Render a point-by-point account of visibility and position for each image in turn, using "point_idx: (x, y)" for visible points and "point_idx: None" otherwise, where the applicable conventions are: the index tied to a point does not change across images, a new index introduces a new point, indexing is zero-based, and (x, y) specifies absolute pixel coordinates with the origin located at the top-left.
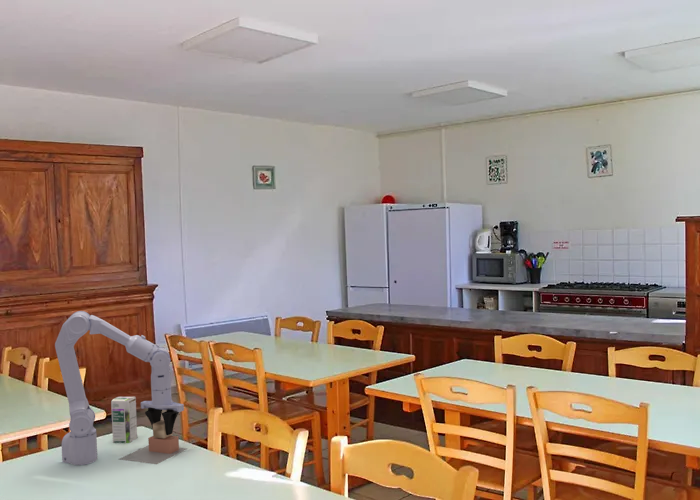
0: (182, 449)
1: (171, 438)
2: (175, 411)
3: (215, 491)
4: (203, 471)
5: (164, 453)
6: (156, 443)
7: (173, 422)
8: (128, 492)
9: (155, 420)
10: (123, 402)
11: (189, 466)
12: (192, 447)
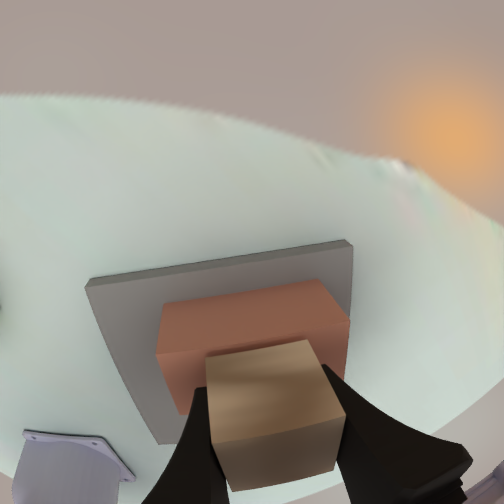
0: (335, 269)
1: (331, 365)
2: (452, 487)
3: (498, 376)
4: (470, 340)
5: None
6: None
7: (372, 416)
8: None
9: (223, 492)
10: None
11: (427, 343)
12: (321, 167)
